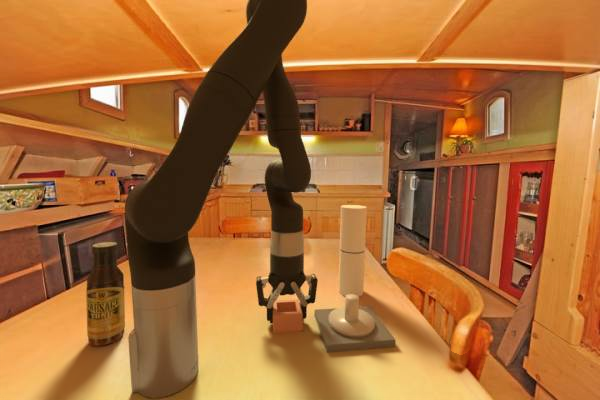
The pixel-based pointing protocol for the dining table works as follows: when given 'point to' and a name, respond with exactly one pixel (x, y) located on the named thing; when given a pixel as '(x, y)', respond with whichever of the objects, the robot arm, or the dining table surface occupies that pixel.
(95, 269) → the sauce bottle
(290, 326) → the collar
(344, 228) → the cylindrical container
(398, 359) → the dining table surface
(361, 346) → the post plate
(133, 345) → the robot arm
